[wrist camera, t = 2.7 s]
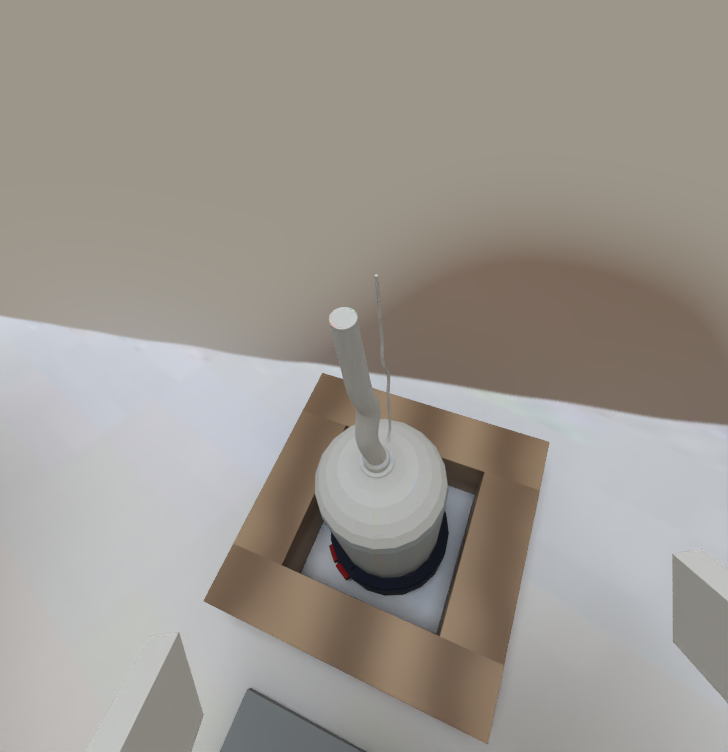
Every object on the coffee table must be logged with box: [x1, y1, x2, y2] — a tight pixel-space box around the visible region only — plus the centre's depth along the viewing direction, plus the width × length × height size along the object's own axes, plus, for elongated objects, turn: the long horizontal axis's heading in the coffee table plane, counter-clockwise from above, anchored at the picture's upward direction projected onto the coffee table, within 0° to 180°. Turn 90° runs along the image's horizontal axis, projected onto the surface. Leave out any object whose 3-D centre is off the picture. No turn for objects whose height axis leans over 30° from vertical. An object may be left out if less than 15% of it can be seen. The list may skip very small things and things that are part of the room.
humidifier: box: [315, 274, 449, 595], centre depth 21 cm, size 8×8×25 cm
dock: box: [204, 373, 549, 744], centre depth 30 cm, size 17×17×5 cm
